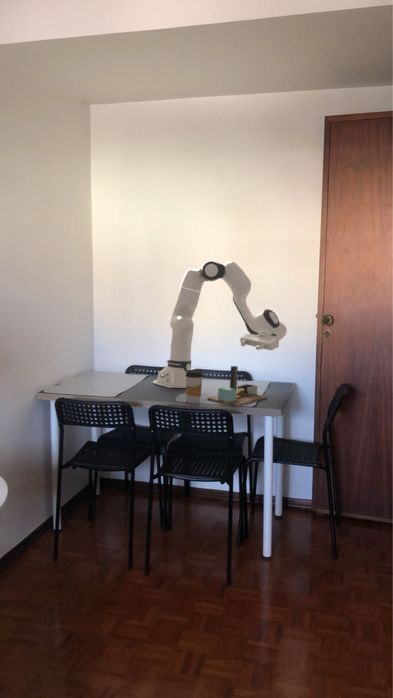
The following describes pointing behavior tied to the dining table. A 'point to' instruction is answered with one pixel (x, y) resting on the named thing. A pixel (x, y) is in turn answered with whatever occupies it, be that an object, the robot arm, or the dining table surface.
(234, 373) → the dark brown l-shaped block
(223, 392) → the mint green block
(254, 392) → the sleeve
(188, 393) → the coffee cup
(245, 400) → the board
